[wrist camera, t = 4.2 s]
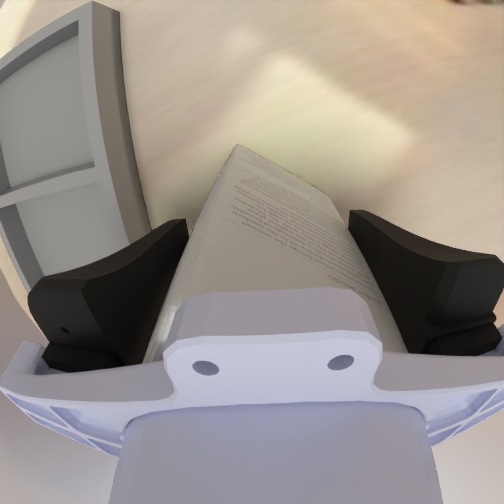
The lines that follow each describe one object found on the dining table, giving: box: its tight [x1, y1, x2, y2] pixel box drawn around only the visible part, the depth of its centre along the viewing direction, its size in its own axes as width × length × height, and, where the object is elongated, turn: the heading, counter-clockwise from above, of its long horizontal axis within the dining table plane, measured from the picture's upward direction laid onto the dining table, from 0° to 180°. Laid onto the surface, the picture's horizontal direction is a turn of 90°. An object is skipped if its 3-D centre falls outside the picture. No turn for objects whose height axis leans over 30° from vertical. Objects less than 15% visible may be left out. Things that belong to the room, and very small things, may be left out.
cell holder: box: [0, 1, 151, 294], centre depth 15 cm, size 27×12×3 cm, turn 4°
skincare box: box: [142, 145, 408, 364], centre depth 10 cm, size 6×4×12 cm
